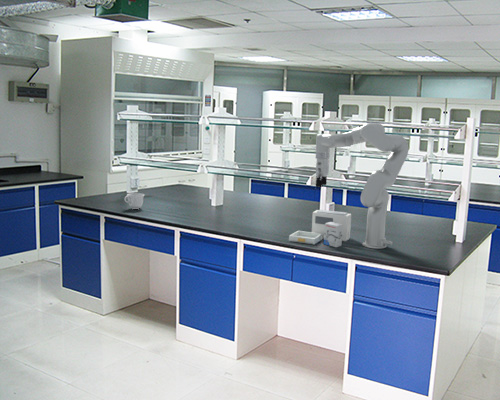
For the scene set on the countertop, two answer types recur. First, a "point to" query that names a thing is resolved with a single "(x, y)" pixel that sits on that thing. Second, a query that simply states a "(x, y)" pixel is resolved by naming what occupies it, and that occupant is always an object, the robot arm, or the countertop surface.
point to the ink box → (333, 234)
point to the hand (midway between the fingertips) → (321, 186)
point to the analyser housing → (331, 216)
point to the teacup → (135, 200)
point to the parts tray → (305, 237)
